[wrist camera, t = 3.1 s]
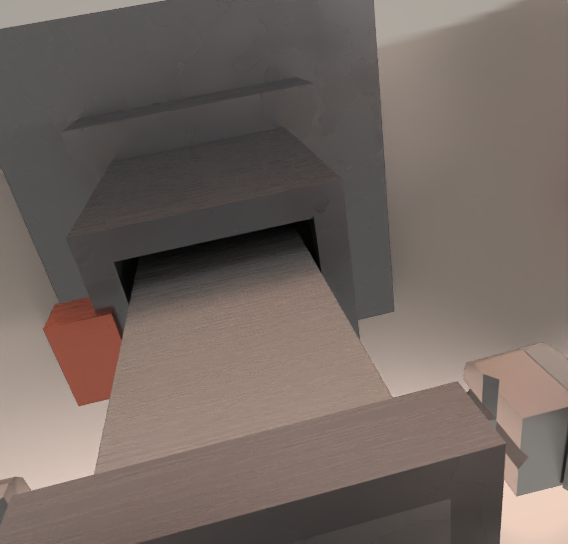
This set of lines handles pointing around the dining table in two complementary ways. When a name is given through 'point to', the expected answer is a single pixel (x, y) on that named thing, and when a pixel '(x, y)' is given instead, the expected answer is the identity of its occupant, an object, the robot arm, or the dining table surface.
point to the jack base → (192, 151)
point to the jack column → (265, 422)
